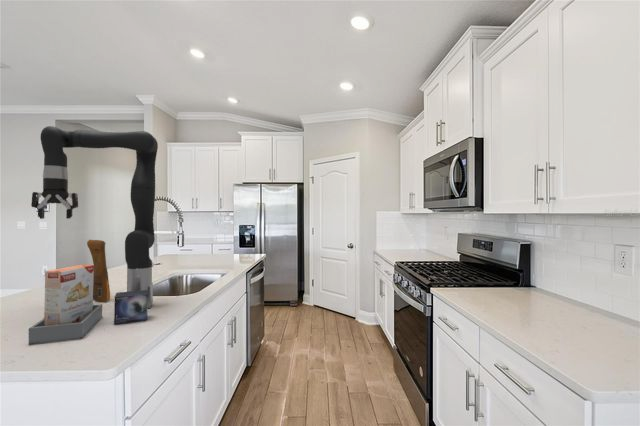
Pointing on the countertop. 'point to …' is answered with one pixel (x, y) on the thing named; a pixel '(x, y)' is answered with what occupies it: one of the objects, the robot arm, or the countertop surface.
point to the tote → (64, 329)
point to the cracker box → (68, 294)
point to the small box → (130, 307)
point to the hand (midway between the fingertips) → (55, 218)
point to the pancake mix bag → (99, 271)
